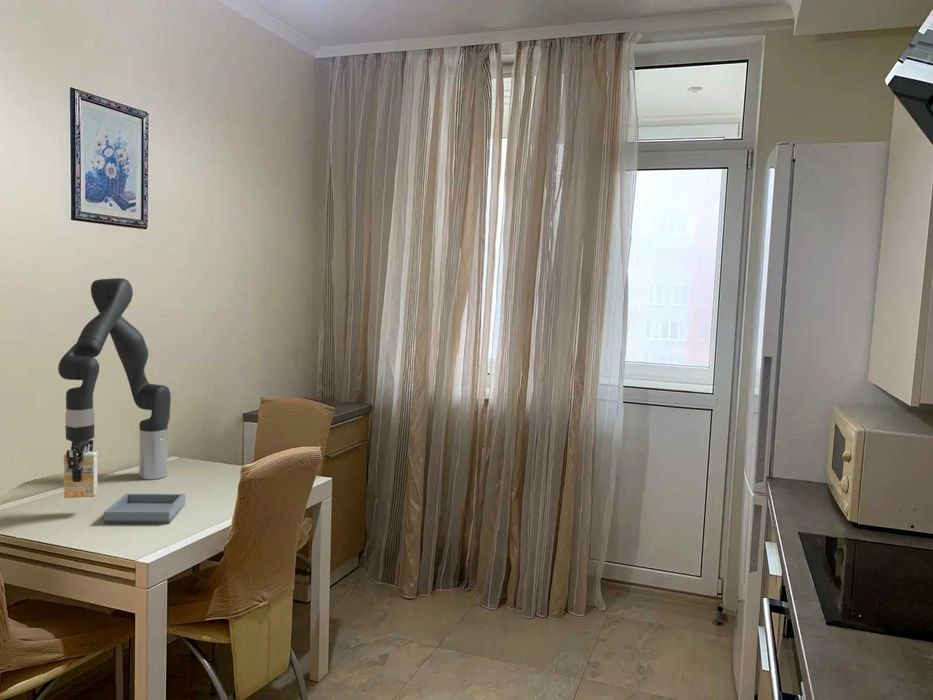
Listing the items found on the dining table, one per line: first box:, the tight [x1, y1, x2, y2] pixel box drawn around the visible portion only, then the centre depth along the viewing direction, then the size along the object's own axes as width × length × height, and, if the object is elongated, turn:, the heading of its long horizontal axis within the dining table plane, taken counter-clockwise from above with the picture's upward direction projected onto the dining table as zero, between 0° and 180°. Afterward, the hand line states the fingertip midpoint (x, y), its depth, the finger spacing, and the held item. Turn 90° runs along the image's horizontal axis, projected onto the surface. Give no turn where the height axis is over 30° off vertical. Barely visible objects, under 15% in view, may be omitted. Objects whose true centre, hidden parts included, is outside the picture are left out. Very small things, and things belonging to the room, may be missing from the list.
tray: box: [103, 492, 186, 525], centre depth 215 cm, size 18×18×4 cm
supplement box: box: [63, 451, 98, 499], centre depth 211 cm, size 8×5×13 cm, turn 106°
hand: (80, 478), depth 212 cm, fingers closed on supplement box, 5 cm apart
